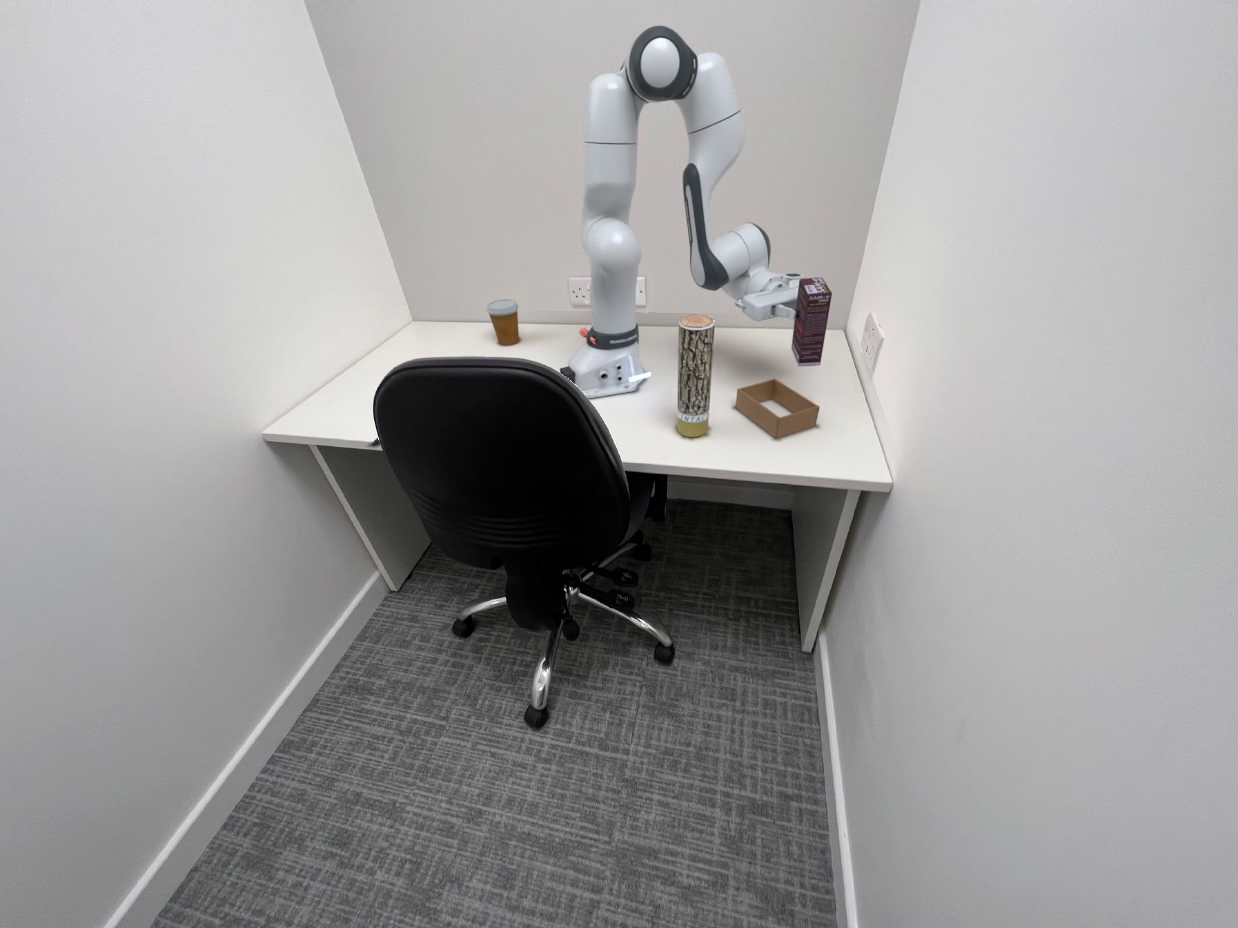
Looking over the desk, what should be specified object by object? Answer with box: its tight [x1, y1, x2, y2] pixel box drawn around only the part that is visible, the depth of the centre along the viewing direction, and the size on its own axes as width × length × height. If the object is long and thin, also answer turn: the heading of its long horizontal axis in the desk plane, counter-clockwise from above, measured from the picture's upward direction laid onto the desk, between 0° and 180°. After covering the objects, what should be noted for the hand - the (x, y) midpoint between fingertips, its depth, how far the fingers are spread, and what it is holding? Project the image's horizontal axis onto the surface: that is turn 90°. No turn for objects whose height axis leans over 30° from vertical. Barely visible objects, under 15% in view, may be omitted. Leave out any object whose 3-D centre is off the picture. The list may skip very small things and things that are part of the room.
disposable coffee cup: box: [486, 298, 520, 346], centre depth 153 cm, size 10×10×12 cm
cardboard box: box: [735, 378, 820, 440], centre depth 111 cm, size 10×15×5 cm
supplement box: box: [790, 277, 833, 367], centre depth 103 cm, size 9×5×16 cm, turn 175°
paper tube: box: [676, 314, 716, 438], centre depth 102 cm, size 7×7×25 cm
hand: (810, 311), depth 103 cm, fingers closed on supplement box, 6 cm apart
